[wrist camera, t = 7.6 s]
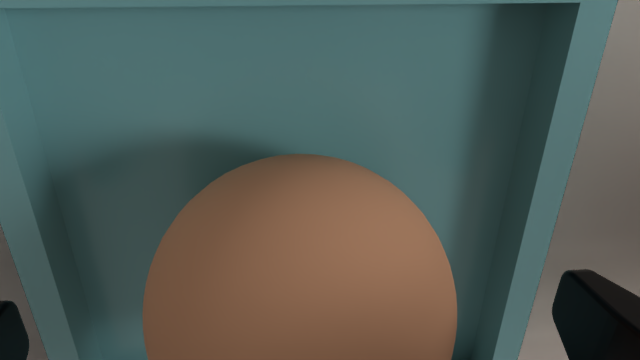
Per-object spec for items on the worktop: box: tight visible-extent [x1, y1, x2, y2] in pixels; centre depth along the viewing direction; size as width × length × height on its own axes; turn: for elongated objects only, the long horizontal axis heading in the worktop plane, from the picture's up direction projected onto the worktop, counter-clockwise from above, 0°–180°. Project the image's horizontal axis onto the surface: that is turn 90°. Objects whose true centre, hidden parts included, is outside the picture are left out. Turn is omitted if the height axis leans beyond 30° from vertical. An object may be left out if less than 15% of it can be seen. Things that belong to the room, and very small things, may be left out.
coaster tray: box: [0, 0, 618, 360], centre depth 11 cm, size 10×10×2 cm
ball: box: [143, 154, 457, 360], centre depth 9 cm, size 5×5×5 cm
